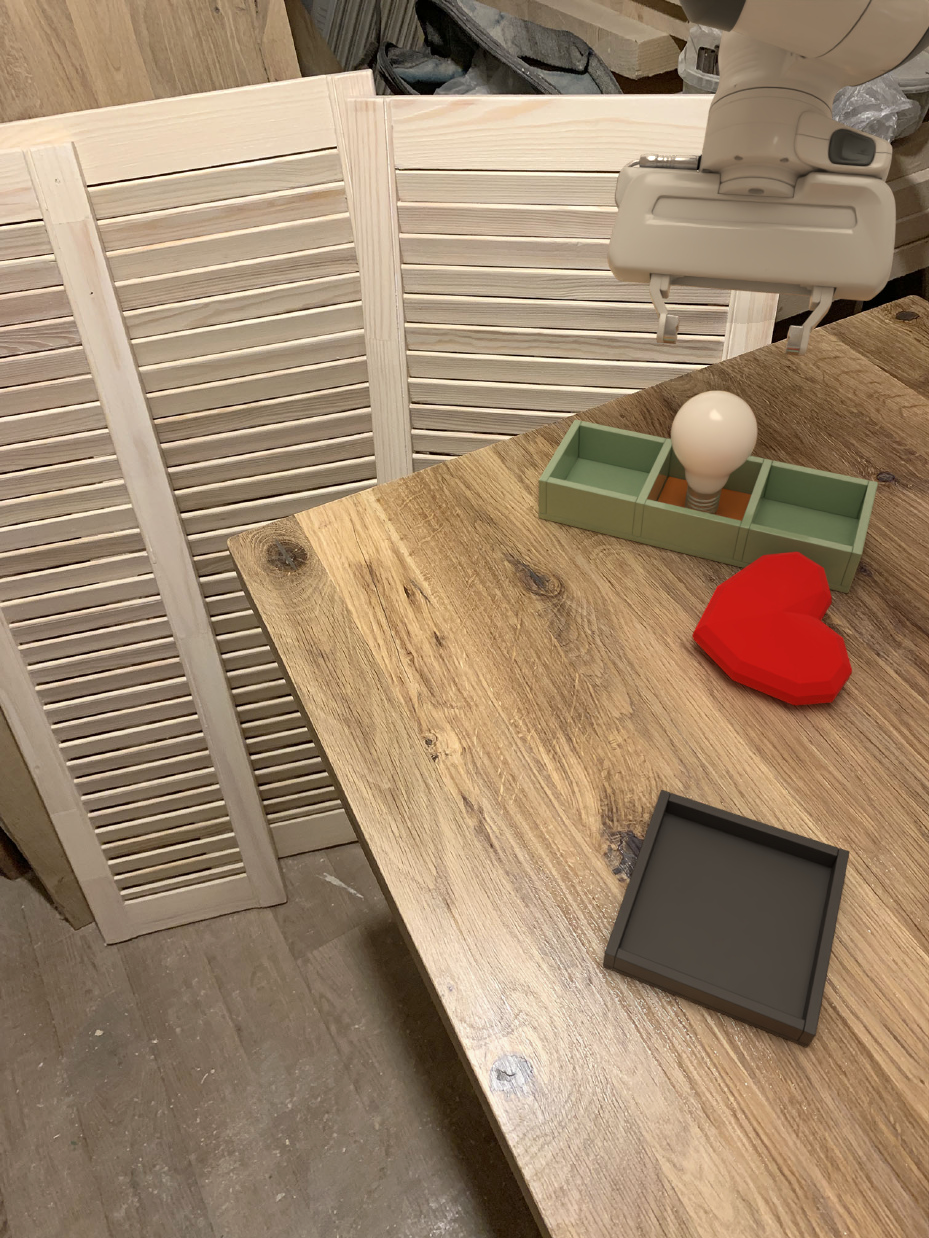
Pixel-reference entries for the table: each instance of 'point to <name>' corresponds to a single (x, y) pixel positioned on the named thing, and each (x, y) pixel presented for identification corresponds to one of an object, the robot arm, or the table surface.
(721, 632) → the heart
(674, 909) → the tray
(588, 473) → the green compartment box
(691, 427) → the lightbulb
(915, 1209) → the table surface
